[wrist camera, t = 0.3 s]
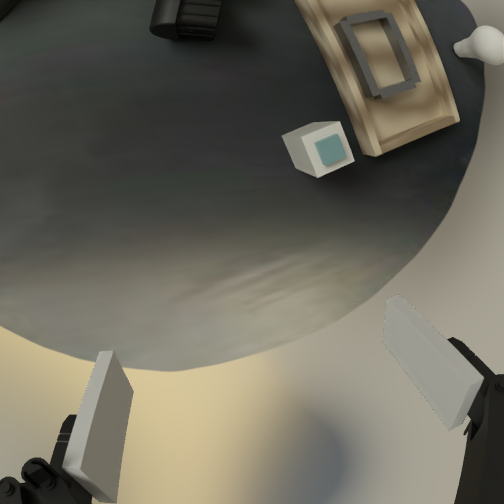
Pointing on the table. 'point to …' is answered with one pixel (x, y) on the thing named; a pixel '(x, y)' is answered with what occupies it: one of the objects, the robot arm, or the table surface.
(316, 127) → the white block teal patch
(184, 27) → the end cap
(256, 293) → the table surface
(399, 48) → the grey rectangular frame
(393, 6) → the birch box
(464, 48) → the lightbulb
